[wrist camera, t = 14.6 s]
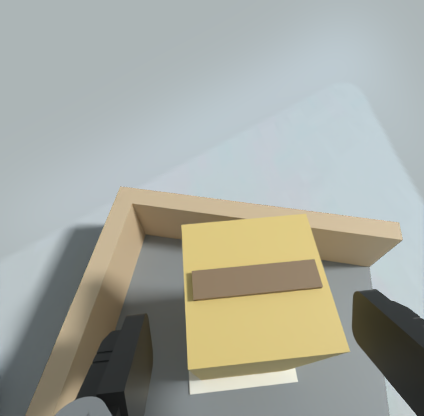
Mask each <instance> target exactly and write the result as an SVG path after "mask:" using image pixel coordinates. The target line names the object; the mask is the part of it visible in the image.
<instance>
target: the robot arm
mask: <svg viewBox="0 0 424 416" xmlns="http://www.w3.org/2000/svg"><path fill="white" fill-rule="evenodd" d="M352 332H353V336H354V338H355V340H356V342H357V344H358V345H359V346H360V348H361V349H362V350H363V351H364V352H365V354H366V355H367V356H368V357H369V358H370V360H371V361H372V362H373V363H374V364H375V366H376V367H377V368H378V369H379V370H380V372H381V373H382V374H383V375H384V376H385V378H386V379H387V380H388V381H389V382H390V384H391V385H392V386H393V387H394V388H395V390H396V391H397V392H398V393H399V394H400V396H401V397H402V398H403V399H404V400H405V402H406V403H407V404H408V405H409V406H410V408H411V409H412V410H413V411H414V412H415V414H416V415H417V416H424V319H422V318H420V316H418V315H417V314H416V313H414V312H413V311H412V310H410V309H409V308H408V307H405V306H403V305H401V304H399V303H397V302H394V301H391V300H389V299H388V298H387V297H386V296H384V295H383V294H382V293H381V292H379V291H378V290H376V289H372V290H363V291H356V292H354V294H353V305H352ZM152 368H153V347H152V340H151V333H150V326H149V319H148V315H147V313H143V314H134V315H127V316H126V317H125V320H124V323H123V325H122V328H121V330H116V331H111V332H110V333H109V334H108V335H107V336H106V337H105V338H104V339H103V340H102V342H101V344H100V346H99V348H98V351H97V354H96V355H95V357H94V359H93V362H92V364H91V366H90V368H89V370H88V372H87V375H86V377H85V379H84V381H83V383H82V386H81V388H80V390H79V392H78V394H77V397H76V399H75V400H74V401H72V402H70V403H69V404H67V405H66V406H64V407H63V408H62V409H60V410H59V411H58V412H57V413H56V414H55V416H144V414H145V408H146V402H147V396H148V391H149V385H150V379H151V374H152Z"/></svg>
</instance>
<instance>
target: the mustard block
mask: <svg viewBox="0 0 424 416" xmlns="http://www.w3.org/2000/svg"><path fill="white" fill-rule="evenodd" d="M181 227H182V249H183V271H184V293H185V315H186V337H187V359H188V370H189V371H190V372H191V373H193V374H194V375H195V376H197V377H198V378H199V379H200V380H209V379H217V378H226V377H235V376H244V375H253V374H262V373H270V372H279V371H286V370H289V369H293V368H296V367H300V366H303V365H306V364H310V363H313V362H317V361H320V360H324V359H327V358H331V357H334V356H337V355H341V354H344V353H348V352H350V349H349V346H348V343H347V340H346V337H345V334H344V331H343V327H342V324H341V321H340V318H339V315H338V312H337V309H336V306H335V302H334V299H333V296H332V293H331V290H330V287H329V284H328V281H327V277H326V274H325V271H324V268H323V265H322V262H321V259H320V256H319V252H318V249H317V246H316V243H315V240H314V237H313V234H312V231H311V227H310V224H309V221H308V218H307V215H306V214H297V215H286V216H275V217H264V218H252V219H241V220H230V221H219V222H208V223H196V224H185V225H181Z"/></svg>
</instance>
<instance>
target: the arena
mask: <svg viewBox="0 0 424 416" xmlns="http://www.w3.org/2000/svg"><path fill="white" fill-rule="evenodd" d="M297 214H306V215H307V218H308V221H309V224H310V227H311V231H312V234H313V237H314V240H315V243H316V246H317V249H318V252H319V256H320V259H321V262H322V265H323V268H324V271H325V274H326V277H327V281H328V284H329V287H330V290H331V293H332V296H333V299H334V302H335V306H336V309H337V312H338V315H339V318H340V321H341V324H342V327H343V331H344V334H345V337H346V340H347V343H348V346H349V349H350V352H348V353H344V354H341V355H337V356H334V357H331V358H327V359H324V360H320V361H317V362H313V363H310V364H306V365H303V366H300V367H296V368H293V369H289V370H286V371H279V372H270V373H262V374H253V375H244V376H235V377H226V378H217V379H209V380H200V379H199V378H198V377H197V376H195V375H194V374H193V373H191V372H190V371H189V370H188V359H187V337H186V315H185V293H184V271H183V249H182V227H181V225H185V224H196V223H208V222H219V221H230V220H241V219H252V218H264V217H275V216H286V215H297ZM402 240H403V239H402V234H401V229H400V225H399V223H398V222H391V221H383V220H375V219H367V218H360V217H352V216H344V215H337V214H329V213H321V212H313V211H306V210H298V209H290V208H283V207H275V206H267V205H259V204H252V203H244V202H236V201H229V200H221V199H213V198H205V197H198V196H190V195H182V194H175V193H167V192H159V191H151V190H144V189H136V188H128V187H120V189H119V191H118V194H117V196H116V198H115V201H114V203H113V205H112V208H111V210H110V213H109V215H108V217H107V220H106V222H105V225H104V227H103V229H102V232H101V234H100V237H99V239H98V241H97V244H96V246H95V249H94V251H93V254H92V256H91V258H90V261H89V263H88V266H87V268H86V270H85V273H84V275H83V278H82V280H81V282H80V285H79V287H78V290H77V292H76V294H75V297H74V299H73V302H72V304H71V306H70V309H69V311H68V314H67V316H66V318H65V321H64V323H63V326H62V328H61V330H60V333H59V335H58V338H57V340H56V343H55V345H54V347H53V350H52V352H51V355H50V357H49V359H48V362H47V364H46V367H45V369H44V371H43V374H42V376H41V379H40V381H39V383H38V386H37V388H36V391H35V393H34V395H33V398H32V400H31V403H30V405H29V407H28V410H27V412H26V415H25V416H55V414H56V413H57V412H58V411H59V410H60V409H62V408H63V407H64V406H66V405H67V404H69V403H70V402H72V401H74V400H75V399H76V397H77V394H78V392H79V390H80V388H81V386H82V383H83V381H84V379H85V377H86V375H87V372H88V370H89V368H90V366H91V364H92V362H93V359H94V357H95V355H96V354H97V351H98V348H99V346H100V344H101V342H102V340H103V339H104V338H105V337H106V336H107V335H108V334H109V333H110V332H111V331H116V330H121V328H122V325H123V323H124V320H125V317H126V316H127V315H134V314H143V313H147V315H148V319H149V326H150V333H151V340H152V347H153V368H152V374H151V379H150V385H149V391H148V396H147V402H146V408H145V414H144V416H390V415H389V408H388V400H387V393H386V386H385V378H384V375H383V374H382V373H381V372H380V370H379V369H378V368H377V367H376V366H375V364H374V363H373V362H372V361H371V360H370V358H369V357H368V356H367V355H366V354H365V352H364V351H363V350H362V349H361V348H360V346H359V345H358V344H357V342H356V340H355V338H354V336H353V332H352V305H353V294H354V292H356V291H363V290H372V283H371V275H370V268H369V267H370V266H371V265H372V264H374V263H375V262H376V261H377V260H378V259H380V258H381V257H382V256H383V255H385V254H386V253H387V252H388V251H390V250H391V249H392V248H393V247H395V246H396V245H397V244H398V243H400V242H401V241H402Z"/></svg>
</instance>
